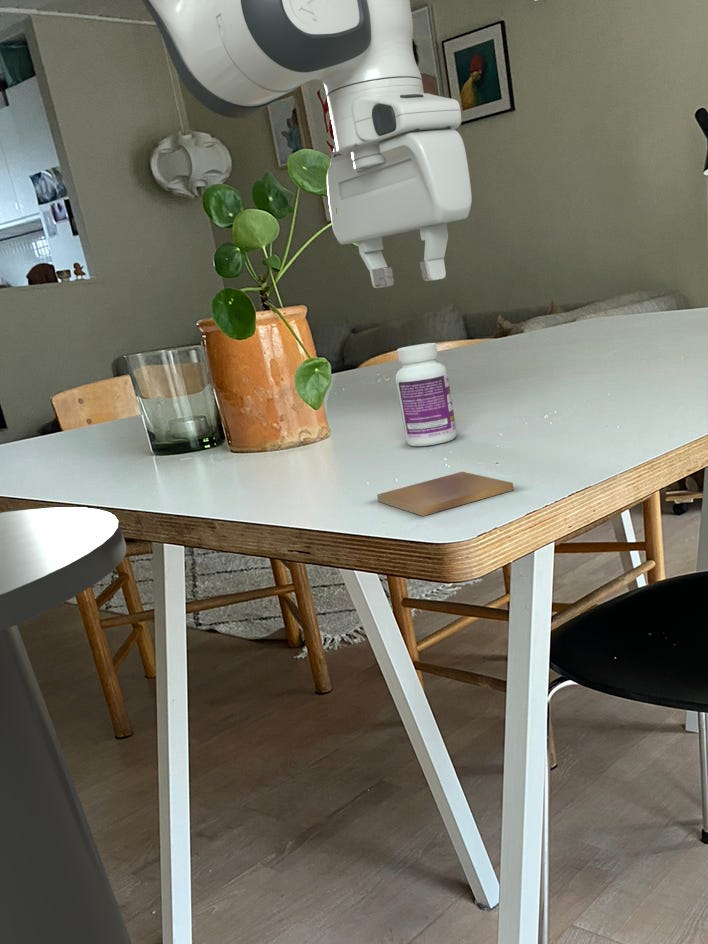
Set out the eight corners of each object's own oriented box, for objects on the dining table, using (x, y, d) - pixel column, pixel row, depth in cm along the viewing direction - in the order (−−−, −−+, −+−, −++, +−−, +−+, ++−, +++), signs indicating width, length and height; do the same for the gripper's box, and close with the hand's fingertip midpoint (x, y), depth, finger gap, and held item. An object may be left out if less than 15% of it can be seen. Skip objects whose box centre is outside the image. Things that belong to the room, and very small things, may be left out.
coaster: (422, 516, 68) (421, 508, 68) (377, 501, 75) (376, 494, 74) (514, 490, 71) (513, 482, 71) (463, 478, 78) (462, 471, 78)
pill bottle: (466, 438, 95) (451, 341, 92) (419, 449, 93) (402, 350, 90) (444, 433, 100) (429, 341, 96) (399, 444, 98) (382, 350, 94)
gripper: (301, 149, 92) (331, 295, 97) (409, 102, 76) (438, 280, 81) (355, 144, 95) (382, 286, 101) (471, 98, 79) (495, 270, 85)
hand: (408, 283), depth 91 cm, fingers open, 8 cm apart
